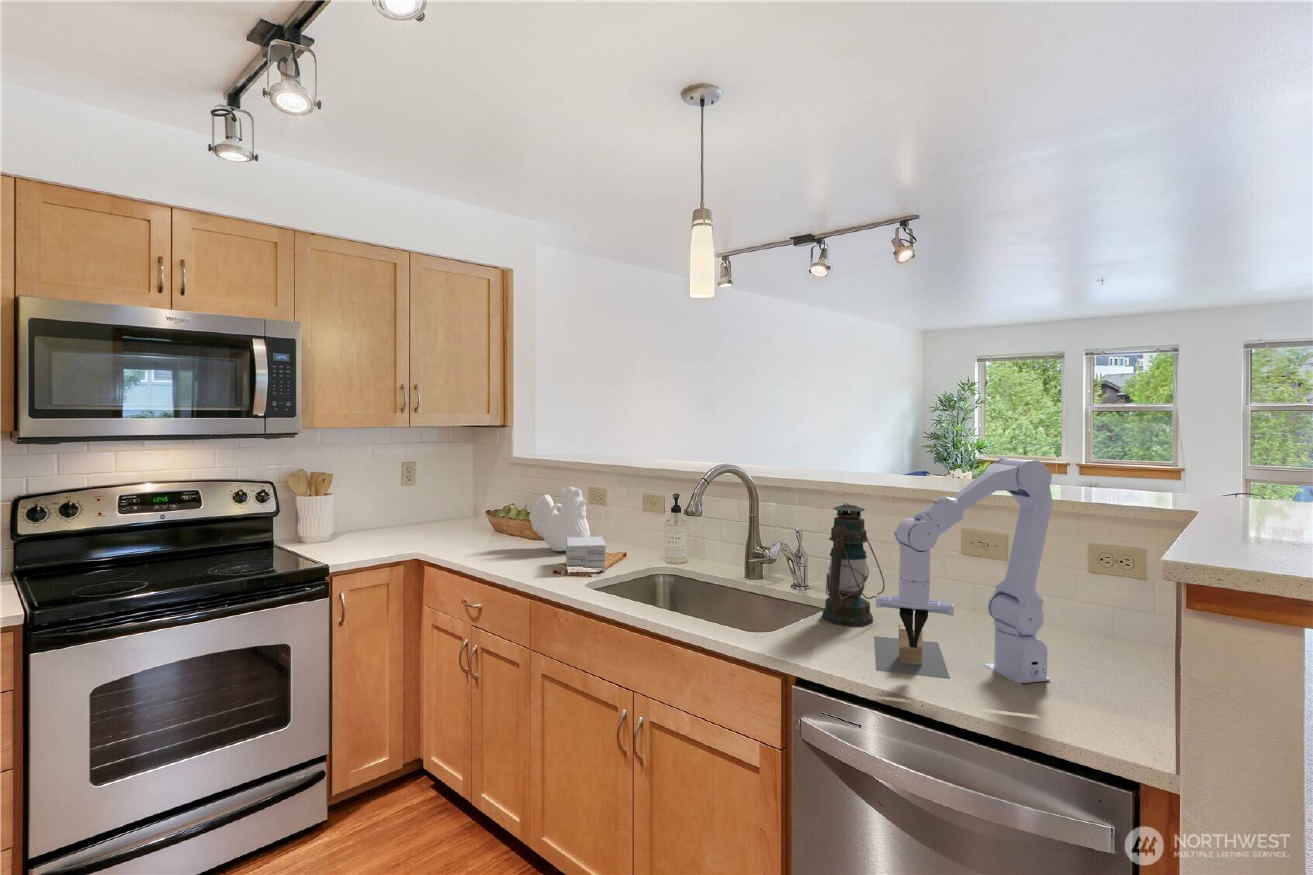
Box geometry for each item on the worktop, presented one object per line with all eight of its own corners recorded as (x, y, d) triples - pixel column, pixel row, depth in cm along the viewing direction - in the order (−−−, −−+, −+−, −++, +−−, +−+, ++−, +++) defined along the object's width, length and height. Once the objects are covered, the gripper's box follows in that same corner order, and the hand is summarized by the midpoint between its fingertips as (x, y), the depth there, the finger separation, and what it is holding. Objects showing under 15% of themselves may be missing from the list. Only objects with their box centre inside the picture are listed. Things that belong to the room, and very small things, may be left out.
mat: (950, 680, 132) (950, 678, 132) (876, 672, 136) (876, 670, 136) (937, 644, 153) (937, 642, 153) (874, 638, 157) (874, 636, 157)
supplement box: (606, 572, 222) (606, 545, 221) (566, 574, 220) (566, 546, 220) (602, 561, 239) (602, 535, 238) (565, 562, 237) (565, 536, 236)
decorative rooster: (598, 549, 259) (598, 486, 258) (571, 556, 245) (571, 489, 245) (550, 542, 273) (550, 482, 272) (522, 548, 260) (522, 485, 259)
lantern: (839, 605, 184) (840, 497, 183) (891, 615, 175) (893, 502, 174) (807, 622, 169) (809, 505, 168) (862, 634, 160) (864, 510, 159)
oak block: (921, 666, 139) (922, 630, 138) (899, 663, 140) (900, 628, 140) (920, 658, 143) (920, 624, 143) (898, 656, 144) (898, 622, 144)
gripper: (953, 578, 134) (952, 644, 135) (878, 571, 140) (877, 635, 140) (954, 586, 128) (953, 656, 128) (875, 578, 133) (874, 645, 134)
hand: (913, 646), depth 134 cm, fingers closed
